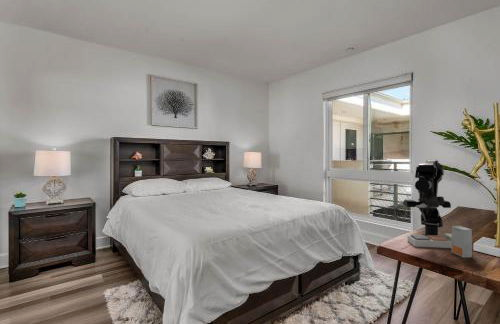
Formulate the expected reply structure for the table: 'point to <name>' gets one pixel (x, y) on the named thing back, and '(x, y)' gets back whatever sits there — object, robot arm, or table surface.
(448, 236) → the sage key
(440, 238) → the terracotta key
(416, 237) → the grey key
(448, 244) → the light grey divided tray
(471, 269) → the table surface
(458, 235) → the skincare box
